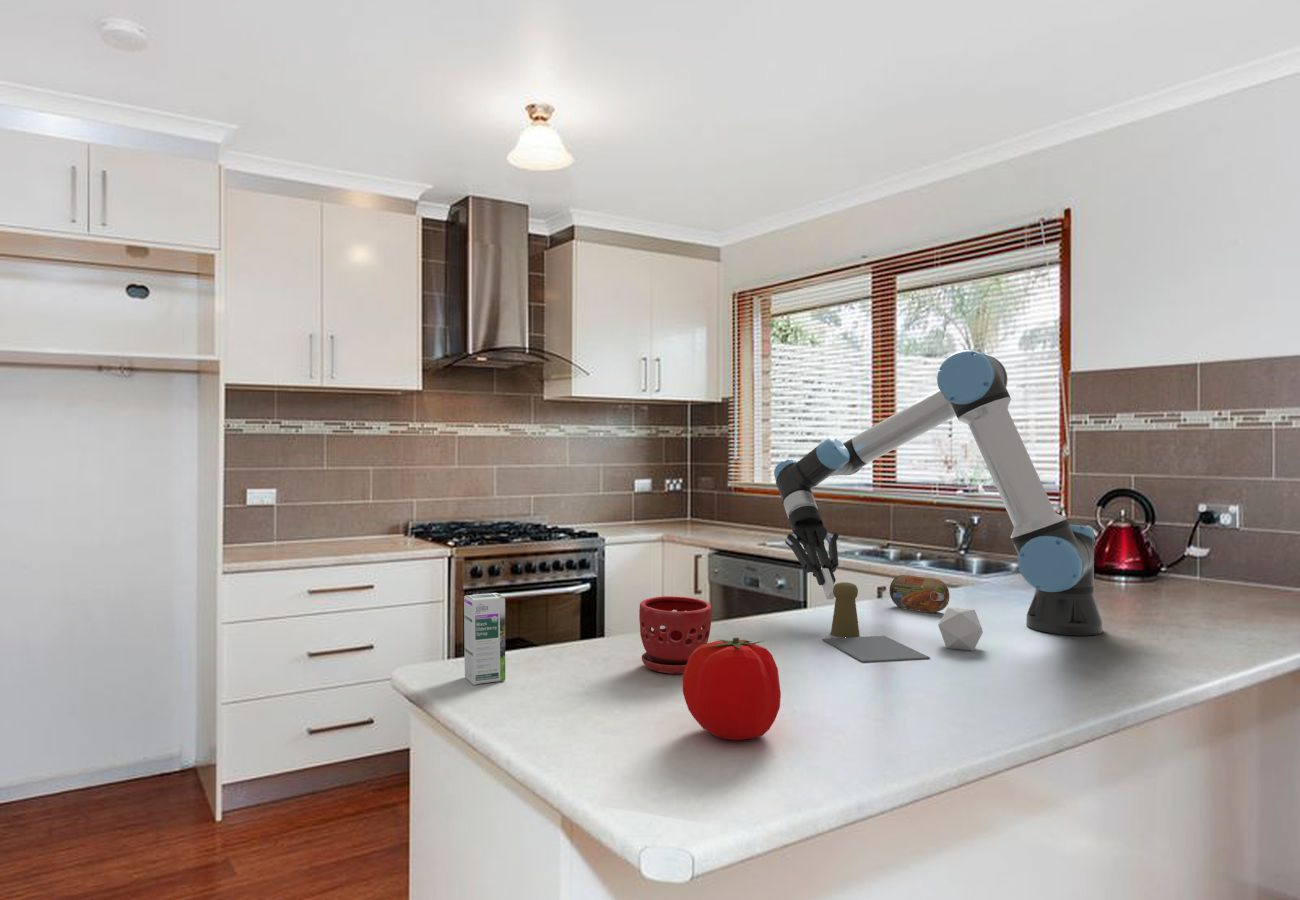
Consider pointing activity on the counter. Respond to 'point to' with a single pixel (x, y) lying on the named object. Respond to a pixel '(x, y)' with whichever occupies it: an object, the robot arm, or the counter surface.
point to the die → (960, 628)
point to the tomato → (732, 688)
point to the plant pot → (673, 631)
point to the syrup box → (484, 638)
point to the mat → (875, 649)
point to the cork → (845, 611)
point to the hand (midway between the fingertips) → (831, 595)
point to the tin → (919, 593)
